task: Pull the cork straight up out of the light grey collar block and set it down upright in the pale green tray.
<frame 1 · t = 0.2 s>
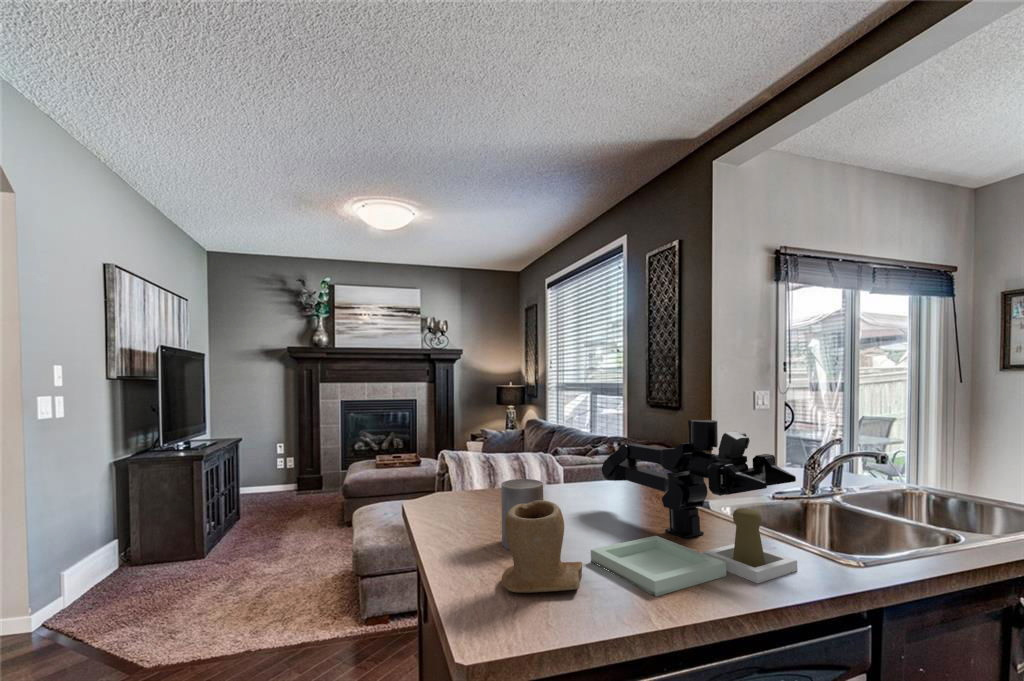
hand: (781, 482, 95), 17 cm above the counter, tool horizontal, fingers open, 9 cm apart
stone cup: (544, 590, 86), on the counter
pillar candle: (522, 545, 109), on the counter
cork: (749, 567, 95), on the counter
tray: (656, 568, 95), on the counter
collar block: (749, 566, 95), on the counter
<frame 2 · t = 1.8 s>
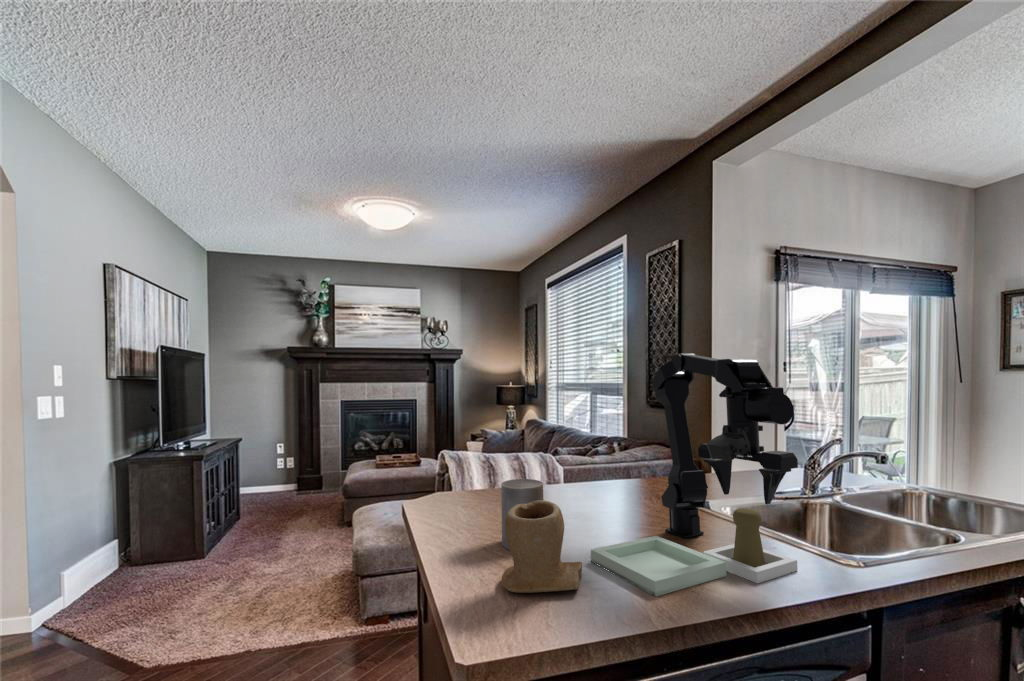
hand: (746, 499, 97), 13 cm above the counter, tool pointing down, fingers open, 9 cm apart
nothing on the counter moved.
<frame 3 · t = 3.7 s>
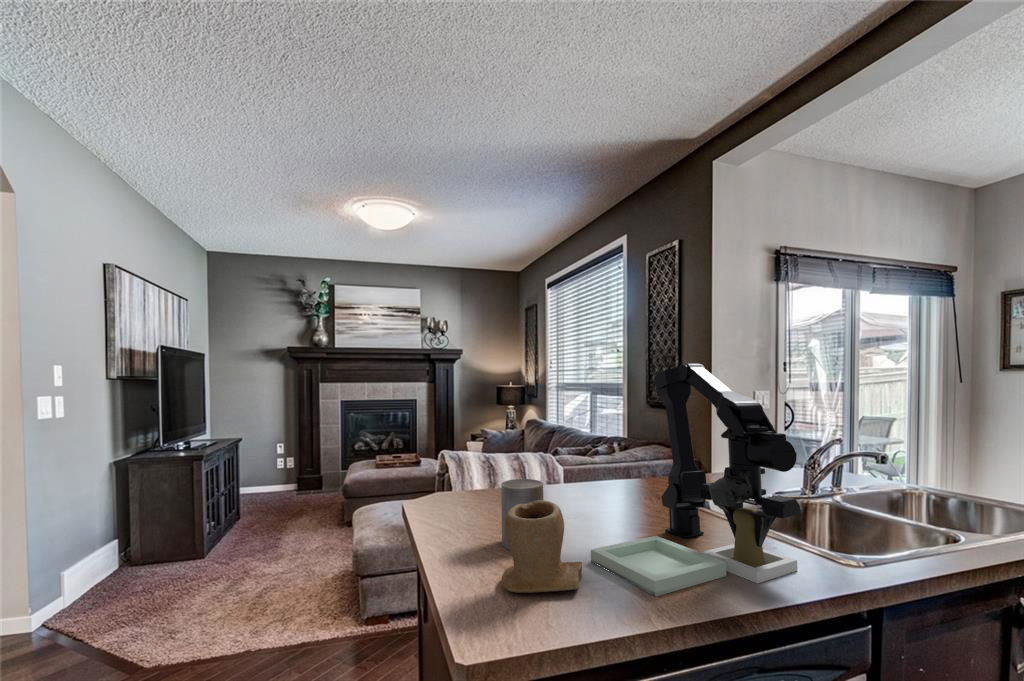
hand: (748, 542, 96), 5 cm above the counter, tool pointing down, fingers closed on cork, 4 cm apart
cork: (749, 567, 95), on the counter, touching gripper
everything else where it was.
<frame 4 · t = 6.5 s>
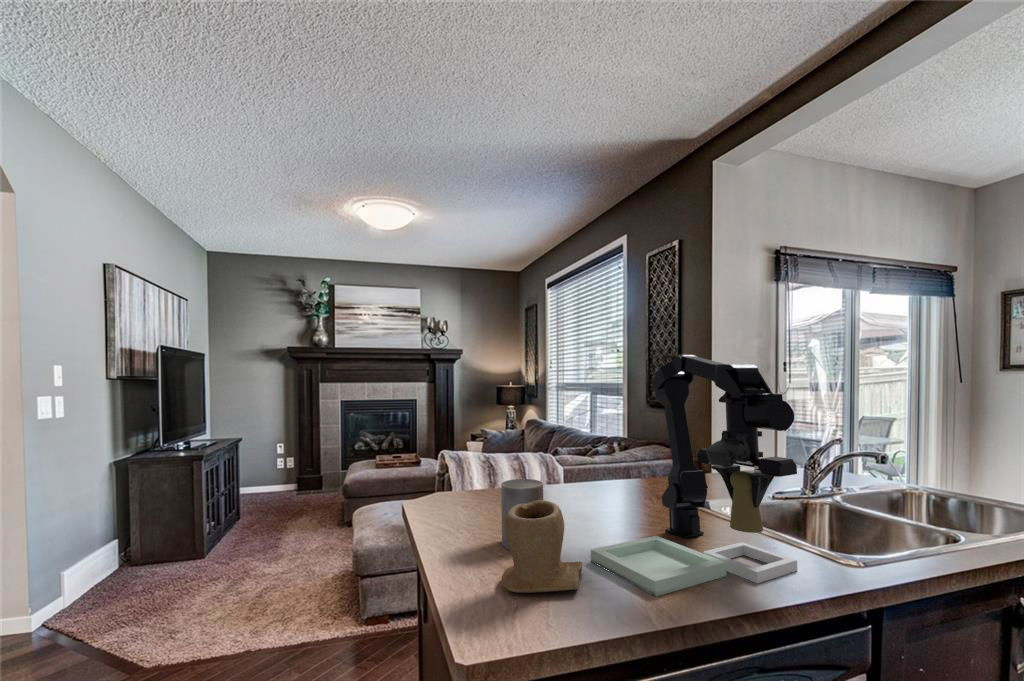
hand: (745, 504, 96), 12 cm above the counter, tool pointing down, fingers closed on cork, 4 cm apart
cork: (746, 528, 96), point 7 cm above the counter, touching gripper
everything else where it was.
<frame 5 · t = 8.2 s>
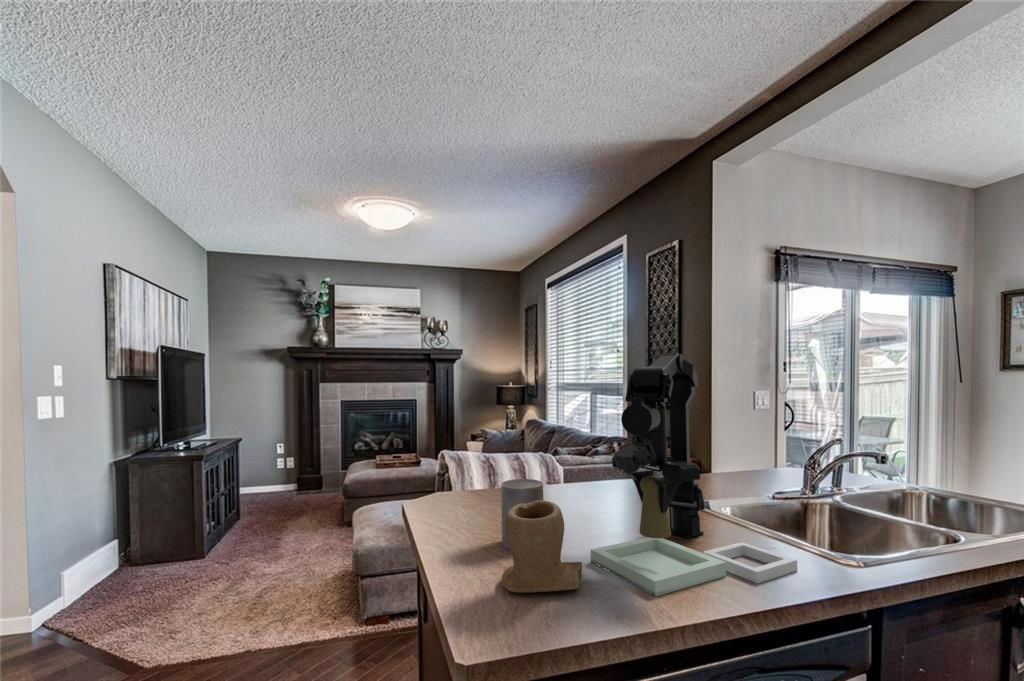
hand: (654, 509, 96), 11 cm above the counter, tool pointing down, fingers closed on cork, 4 cm apart
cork: (655, 534, 95), point 7 cm above the counter, touching gripper
everything else where it was.
when the fingers open (6 cm above the counter, at t = 9.8 s): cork stays where it is, resting on tray.
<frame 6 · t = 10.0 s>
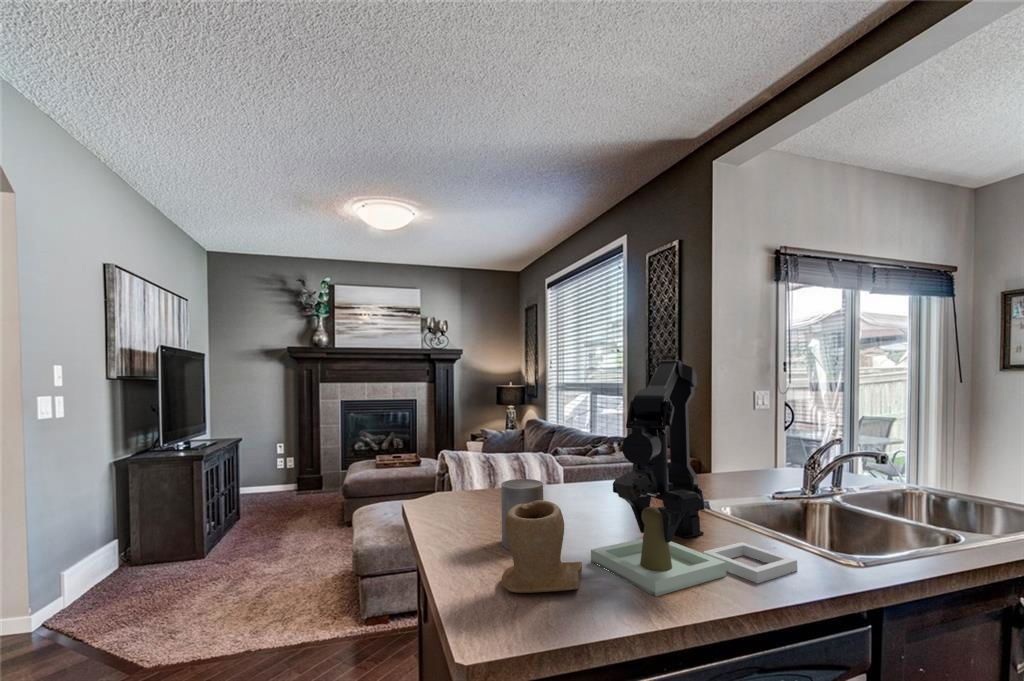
hand: (655, 537, 95), 6 cm above the counter, tool pointing down, fingers open, 6 cm apart
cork: (656, 566, 95), resting on tray
everything else where it was.
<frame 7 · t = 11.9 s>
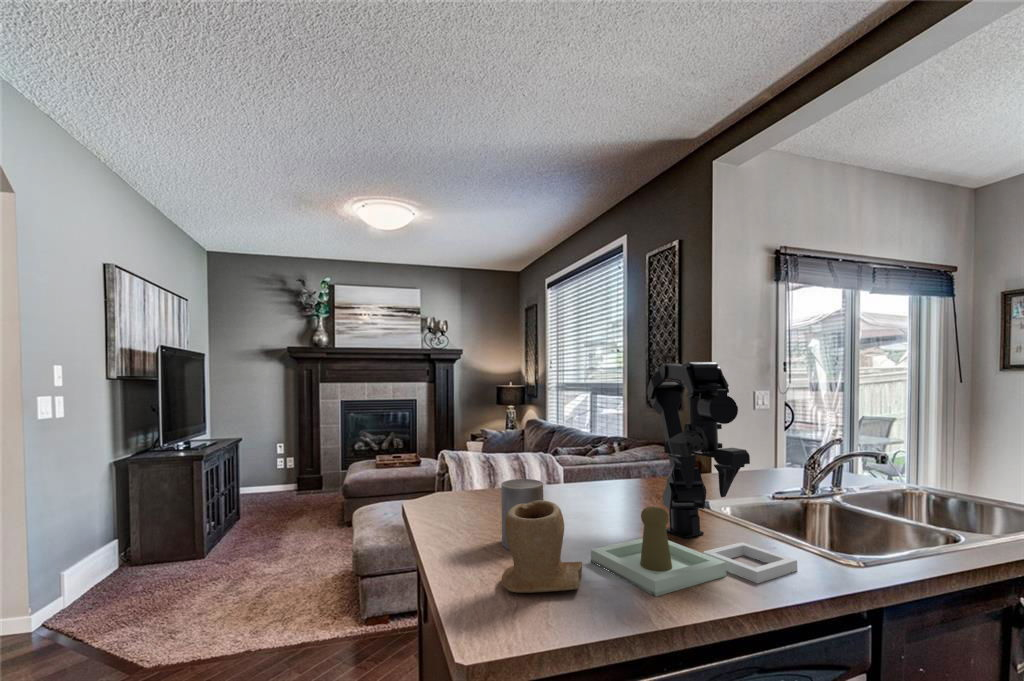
hand: (705, 492, 104), 13 cm above the counter, tool pointing down, fingers open, 9 cm apart
nothing on the counter moved.
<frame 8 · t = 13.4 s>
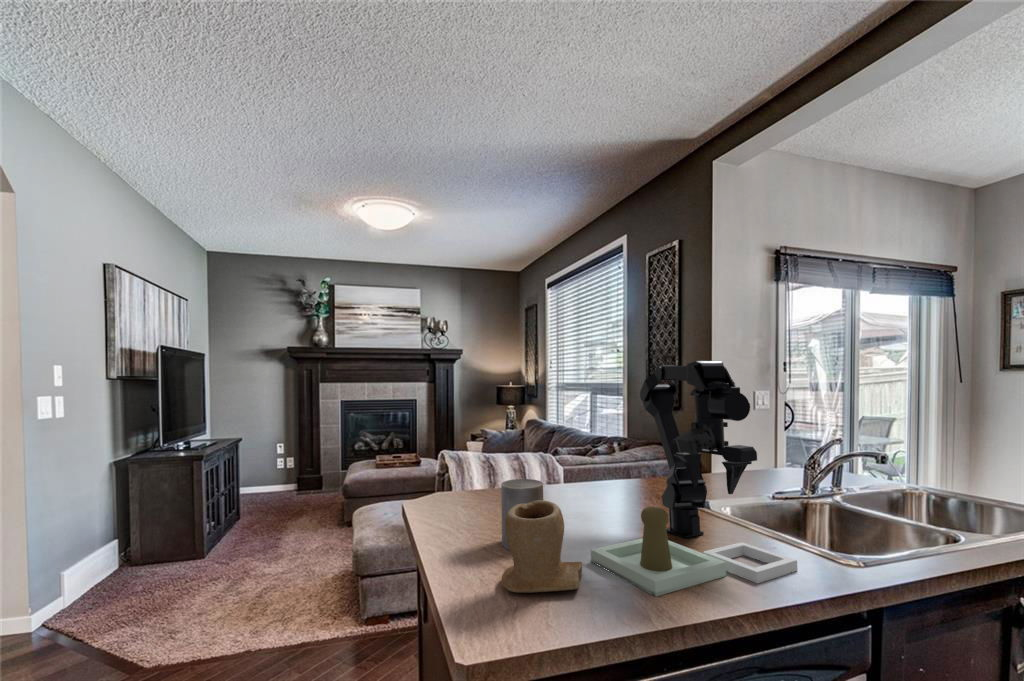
hand: (712, 489, 105), 13 cm above the counter, tool pointing down, fingers open, 9 cm apart
nothing on the counter moved.
at the end: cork inside the target area on the tray (0.0 cm from its centre), point 0.4 cm above the tray's base; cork tilted 0°; the gripper is holding nothing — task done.
